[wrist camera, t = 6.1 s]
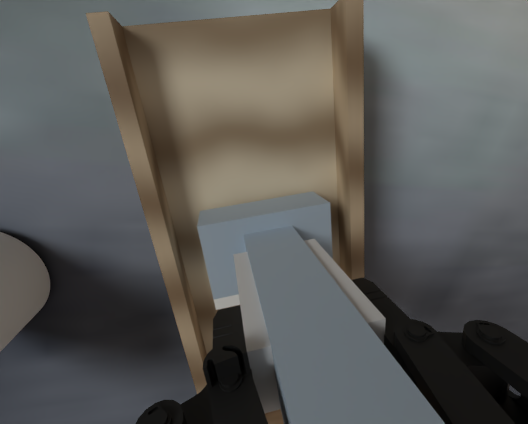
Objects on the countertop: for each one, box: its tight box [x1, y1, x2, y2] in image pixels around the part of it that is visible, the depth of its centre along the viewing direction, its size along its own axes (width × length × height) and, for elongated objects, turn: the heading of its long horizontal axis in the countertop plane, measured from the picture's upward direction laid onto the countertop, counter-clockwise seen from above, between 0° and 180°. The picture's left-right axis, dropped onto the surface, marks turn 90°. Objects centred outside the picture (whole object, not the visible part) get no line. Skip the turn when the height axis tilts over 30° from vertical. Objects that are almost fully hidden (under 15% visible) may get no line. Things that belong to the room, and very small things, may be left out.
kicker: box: [197, 191, 445, 424], centre depth 12 cm, size 6×8×15 cm
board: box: [86, 0, 364, 424], centre depth 20 cm, size 32×14×6 cm, turn 8°
